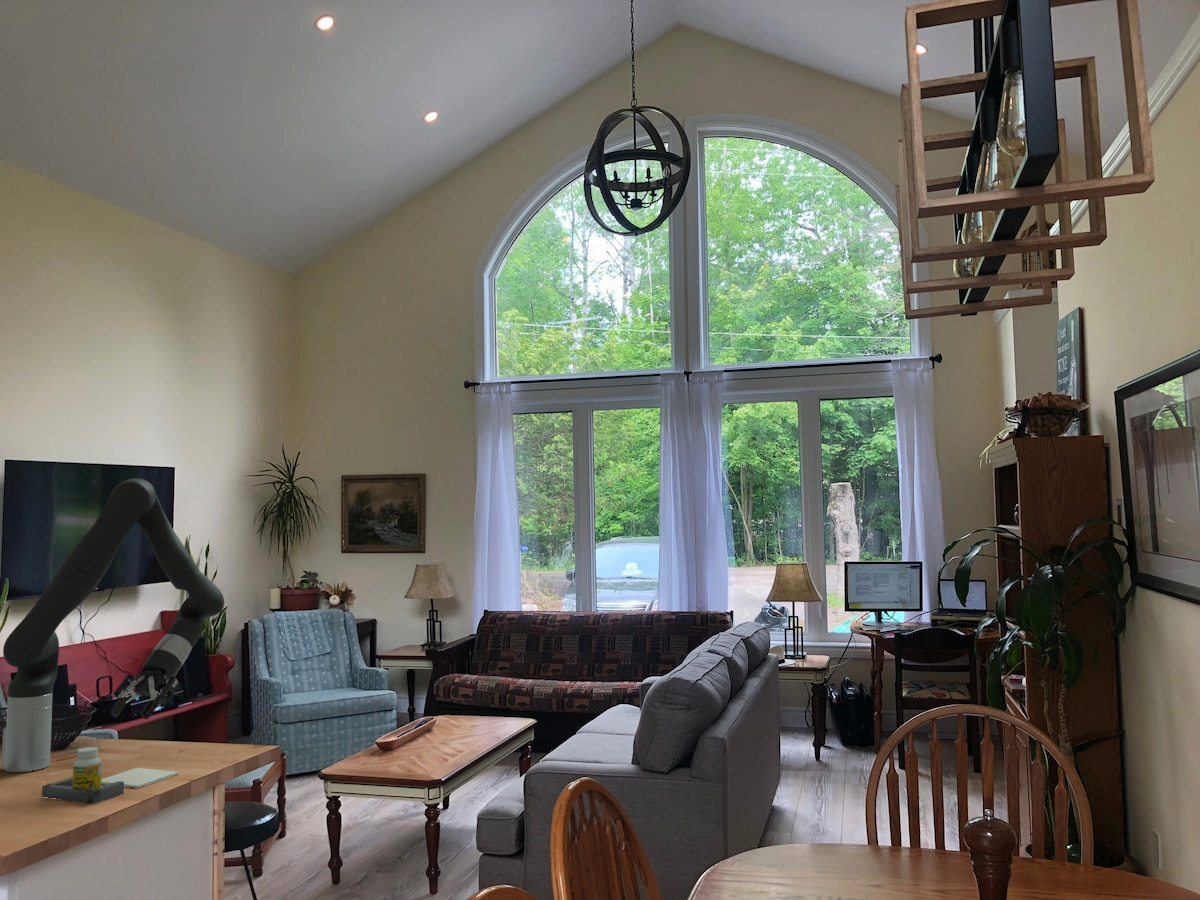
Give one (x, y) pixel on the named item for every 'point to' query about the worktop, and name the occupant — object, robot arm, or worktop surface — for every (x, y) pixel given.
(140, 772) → the cream pad
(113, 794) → the bracket
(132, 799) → the worktop surface
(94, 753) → the supplement bottle
